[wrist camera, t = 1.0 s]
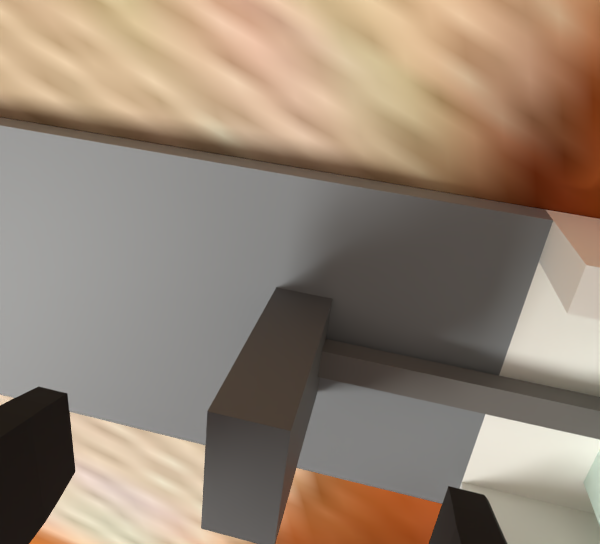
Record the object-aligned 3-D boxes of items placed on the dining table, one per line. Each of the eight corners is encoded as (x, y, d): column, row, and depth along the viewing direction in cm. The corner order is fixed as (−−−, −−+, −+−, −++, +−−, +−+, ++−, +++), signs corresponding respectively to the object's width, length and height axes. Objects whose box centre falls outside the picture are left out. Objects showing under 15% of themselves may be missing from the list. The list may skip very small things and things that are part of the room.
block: (785, 529, 13) (968, 775, 9) (263, 407, 15) (199, 560, 11) (905, 372, 11) (1227, 594, 7) (280, 252, 13) (209, 364, 9)
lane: (808, 571, 15) (906, 705, 12) (-51, 363, 18) (-140, 426, 15) (1040, 293, 11) (1273, 389, 8) (-107, 99, 14) (-241, 115, 12)
